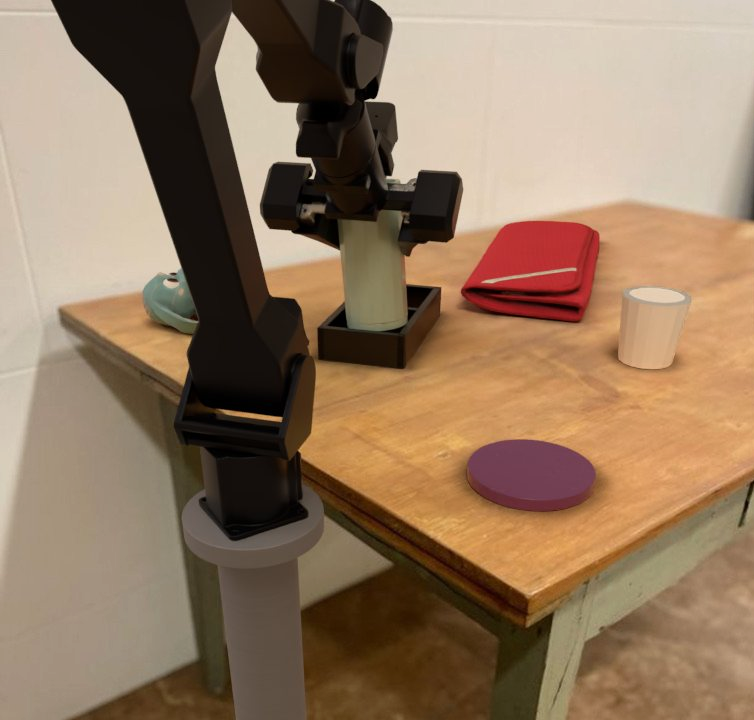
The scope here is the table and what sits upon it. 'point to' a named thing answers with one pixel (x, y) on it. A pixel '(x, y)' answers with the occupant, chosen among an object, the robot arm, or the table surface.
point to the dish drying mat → (536, 270)
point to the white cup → (651, 325)
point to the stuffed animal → (170, 301)
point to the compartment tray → (381, 333)
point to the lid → (531, 475)
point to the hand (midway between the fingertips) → (376, 249)
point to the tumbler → (374, 272)
